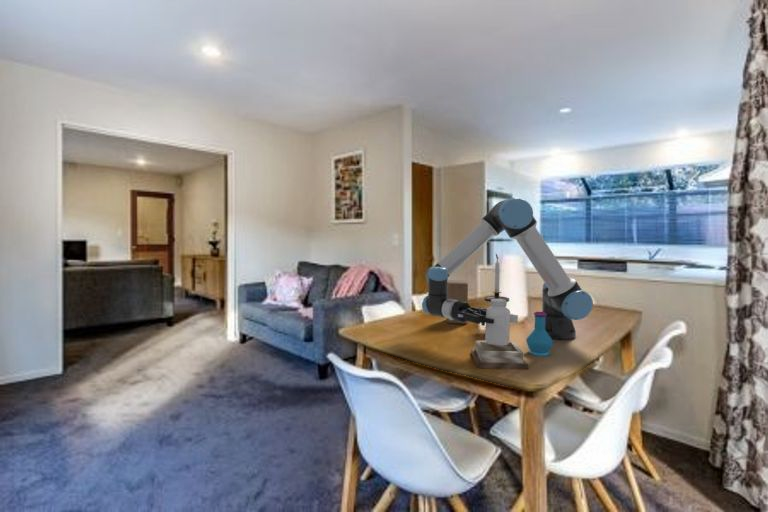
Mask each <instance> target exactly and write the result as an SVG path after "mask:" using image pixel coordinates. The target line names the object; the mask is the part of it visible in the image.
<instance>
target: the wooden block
mask: <svg viewBox="0 0 768 512" xmlns="http://www.w3.org/2000/svg"><path fill="white" fill-rule="evenodd" d="M468 291H469V283H468V281H467V280H450V279H448V282H447V299H453V300H458V301H464V302H467V303H468V304H469V299H468V298H469V297H468V296H469V295H468V294H469V293H468ZM445 320H446V323H447V324H456V325H457V324H458V325H467V324H468V321H465V322H461V321H456V320H453V319H452V320H449V318H445Z"/></svg>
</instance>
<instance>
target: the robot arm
mask: <svg viewBox="0 0 768 512" xmlns="http://www.w3.org/2000/svg"><path fill="white" fill-rule="evenodd" d="M537 224H538V221H537V220H536V218H535V217H534V211H533V207H532V205H531V204H530V203H529V202H528V201H527V200H525V199H523V198H520V197H510V198H507V199H504V200H501V201H499V202H497V203H496V204H494V206H493V207H492V208H491V209H490V210H489V211H488V212H487V213H486V214H485V215H484V216H483V217H482V218H481V219H480V223H479V224H478V225H477V226H476V227H475V228H474V229H472V230H471V231H470V233H468V234H467V235H466V236H465V237H464V238H463V239H461V241H459V242H458V244H457V245H456V246H454V247H453V248H452V249H451V250H450V251H449V252H448V253H447V254H446V255H444V256H443V258H442V259H440V260H439V261H438V262H437V263H436V264H435V265H434V266H431V267H428V269H427V271H426V273H425V274H424V275H425V276H424V279H425V281H426V282H425V283H426V284H427V285H428V287H427V289H428V290H427V291H428V293H427V295H426V296H425V297H424V298H423V299H422V300H423V301H422V303H421V308H422V310H423V312H424V313H425V314H427V315H431V316H436V317H439V318H444V319H446V318H449V320H452V319H453V320H456V321H461V322H465V321H467V322H469V323H470V322H471V323H473V324H476V325H477V324H478V325H480V324H481V326H485V327H486V324H490V325H494V326H499V327H504V319H503V318H498V317H492V316H486V311H487V309H488V308H486V307H485V308H484V307H478V308H477V307H476V306H474V307H473V306H472V307H471V305H470V304H469V302H468V303H467V302H464V301H458V300H453V299H447V282H448V281H449V279H448V278H449V277H450V276H451V275H452V274H453V273H454V272H455V271H456V270H458V269H459V268H460V267H461V266H462V265H463V264H464V263H466V261H467V260H468V259H470V258H471V257H472V256H473V255H474V254H475V253H476V252H477V251H479V250H480V249H481V248H482V247H483V246H484V245H485V244H487V242H489V240H491V239H492V238H493V237H497V236H498V235H500V234H501V233H502V232H504V231H505V232H506V234H507V235H508V237H509V239H513V240H515V241H516V242H517V244H519V247H520V248H521V250H522V251H523V252H524V254H525V255H526V258H528V260H529V261H530V263H531V264H532V266H533V267H534V269H535V271H536V272H537V273H538V275H539V276H540V278H541V279H542V281H543V282H544V283H543V284H542V301H541V303H542V305H541V306H542V307H541V312H545V313H546V314H547V315H546V318H545V330H546V332H547V333H548V335H549V336H550V337H551V339H552V340H553V339H555V340H572V339H575V338H576V336H577V335H576V334H577V333H576V332H577V331H576V327H575V325H574V322H573V321H580V320H583V319H585V318H586V317H588V316H589V315H590V313H591V312H593V311H592V310H593V307H594V301H593V298H592V296H591V295H590V294H589V293H588V292H587V291H586V290H583V289H582V288H581V286H580V285H579V283H578V281H576V279H575V278H571V277H569V275H568V274H567V273H566V271H565V269H564V268H563V266H562V265H561V263H560V262H559V260H558V259H557V257H556V256H555V254H554V253H553V251H552V250H551V249H550V247H549V245H548V244H547V242H546V241H545V239H544V238H543V236H542V234H541V233H540V231H539V230H538V229H537ZM518 322H519V315H517V314H513V313H510V323H513V324H519V323H518Z"/></svg>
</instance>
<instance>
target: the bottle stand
mask: <svg viewBox="0 0 768 512" xmlns="http://www.w3.org/2000/svg"><path fill="white" fill-rule="evenodd" d="M474 343H475V347H474V348H471V350H470V353H471V355H472V358H473V360H474V362H475V364H476V366H477V368H478V369H504V370H505V369H507V370H529V364H528V363H527V361H526V360H525V359H524V352H523V351H522V349H520V347H519V346H518V345H517V344H516V342H515V341H513V340H511V341H510V340H509V344H508V345H504V346H497V345H491V344H488V343H487V342H486V341H485V340H475V342H474Z"/></svg>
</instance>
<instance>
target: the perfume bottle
mask: <svg viewBox="0 0 768 512" xmlns="http://www.w3.org/2000/svg"><path fill="white" fill-rule="evenodd" d="M533 315H534V329H533V330H532V331H531V332H530V334H529V335H528V336H527V337H526V340H525V342H526V344H527V346H528V349H529V353H530V354H532V355H533V356H534V355H535V356H542V357H543V356H546V357H547V356H548V355H550V351H551V350H552V349H551V348H552V347H553V345H554V340H553V338H551V337H550V336H549V335H548V333H547V332H546V330H545V318H546V315H547V314H546V313H545V312H542V311H535V312H534V313H533Z"/></svg>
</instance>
